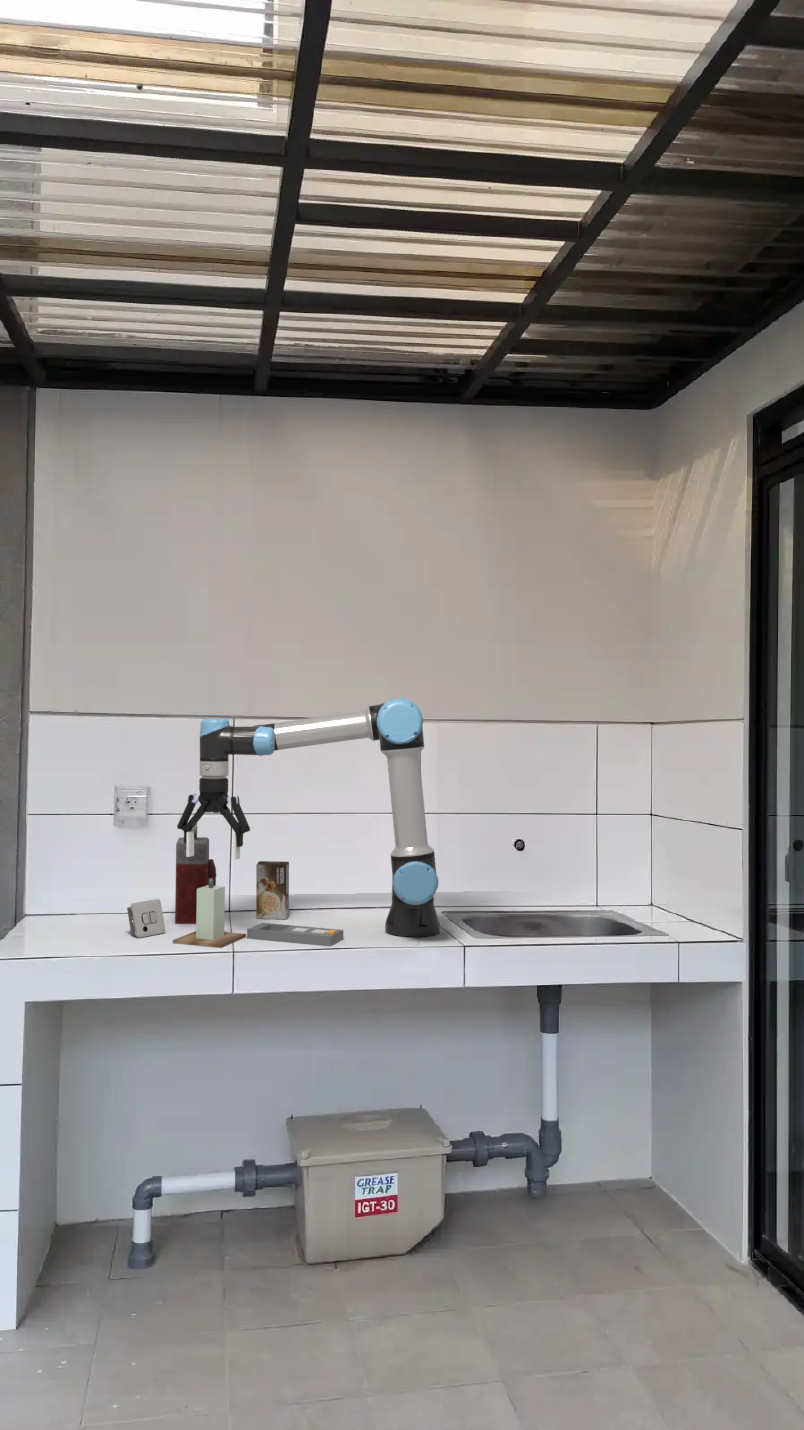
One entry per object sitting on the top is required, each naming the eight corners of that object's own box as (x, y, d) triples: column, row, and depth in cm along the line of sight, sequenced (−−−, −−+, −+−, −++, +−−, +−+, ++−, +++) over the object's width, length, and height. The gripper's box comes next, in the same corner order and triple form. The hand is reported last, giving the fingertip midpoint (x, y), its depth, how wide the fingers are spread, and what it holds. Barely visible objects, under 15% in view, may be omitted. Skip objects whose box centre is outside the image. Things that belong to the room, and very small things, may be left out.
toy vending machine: (215, 923, 309) (216, 824, 309) (175, 923, 307) (176, 824, 307) (216, 917, 318) (217, 821, 318) (176, 917, 316) (178, 821, 316)
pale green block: (224, 935, 290) (224, 877, 289) (213, 940, 284) (214, 880, 284) (207, 933, 291) (208, 876, 291) (196, 938, 286) (196, 879, 285)
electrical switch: (137, 939, 288) (136, 903, 288) (125, 938, 291) (124, 903, 291) (166, 933, 295) (164, 899, 295) (154, 932, 298) (152, 898, 299)
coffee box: (289, 915, 322) (290, 861, 322) (286, 919, 316) (287, 864, 316) (258, 914, 323) (259, 860, 322) (255, 919, 316) (255, 863, 316)
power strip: (343, 939, 291) (343, 928, 291) (330, 946, 283) (330, 934, 283) (261, 931, 299) (261, 920, 299) (246, 938, 290) (247, 927, 290)
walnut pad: (246, 936, 292) (246, 933, 292) (221, 947, 279) (221, 944, 279) (199, 932, 296) (199, 929, 296) (172, 943, 283) (172, 939, 283)
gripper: (164, 776, 288) (163, 856, 288) (250, 779, 280) (249, 862, 280) (179, 774, 295) (178, 853, 295) (263, 777, 287) (262, 858, 287)
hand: (213, 857), depth 288 cm, fingers open, 13 cm apart
